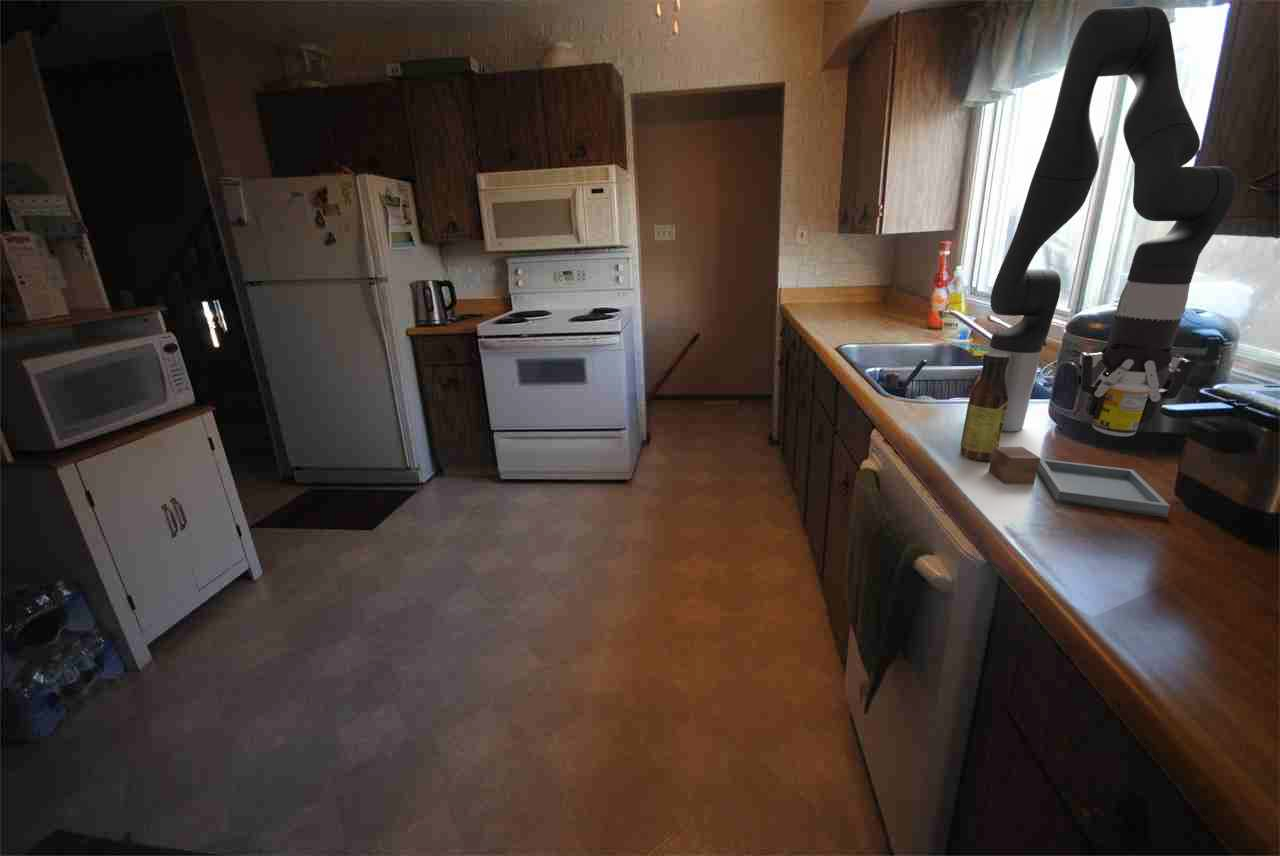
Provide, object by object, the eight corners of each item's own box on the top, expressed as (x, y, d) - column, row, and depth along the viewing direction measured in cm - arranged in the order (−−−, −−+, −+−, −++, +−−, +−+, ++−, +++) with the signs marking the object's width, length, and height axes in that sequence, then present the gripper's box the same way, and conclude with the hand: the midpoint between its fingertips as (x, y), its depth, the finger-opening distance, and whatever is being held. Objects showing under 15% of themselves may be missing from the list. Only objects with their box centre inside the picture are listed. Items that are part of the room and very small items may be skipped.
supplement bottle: (1086, 423, 93) (1103, 364, 90) (1127, 428, 91) (1146, 366, 88) (1097, 435, 88) (1116, 372, 85) (1141, 439, 86) (1162, 375, 83)
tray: (1035, 468, 102) (1037, 458, 101) (1129, 480, 97) (1133, 469, 96) (1056, 502, 90) (1060, 491, 89) (1166, 517, 85) (1170, 506, 84)
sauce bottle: (1001, 463, 104) (1025, 359, 97) (964, 461, 105) (986, 358, 98) (987, 450, 110) (1010, 351, 103) (953, 448, 111) (973, 350, 104)
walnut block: (988, 472, 101) (993, 446, 99) (1016, 472, 101) (1022, 446, 99) (1004, 484, 96) (1010, 458, 95) (1033, 484, 96) (1040, 458, 94)
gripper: (1197, 312, 84) (1161, 417, 90) (1082, 307, 89) (1055, 408, 95) (1224, 319, 77) (1184, 433, 83) (1098, 314, 83) (1069, 422, 88)
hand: (1116, 419), depth 89 cm, fingers closed on supplement bottle, 5 cm apart
